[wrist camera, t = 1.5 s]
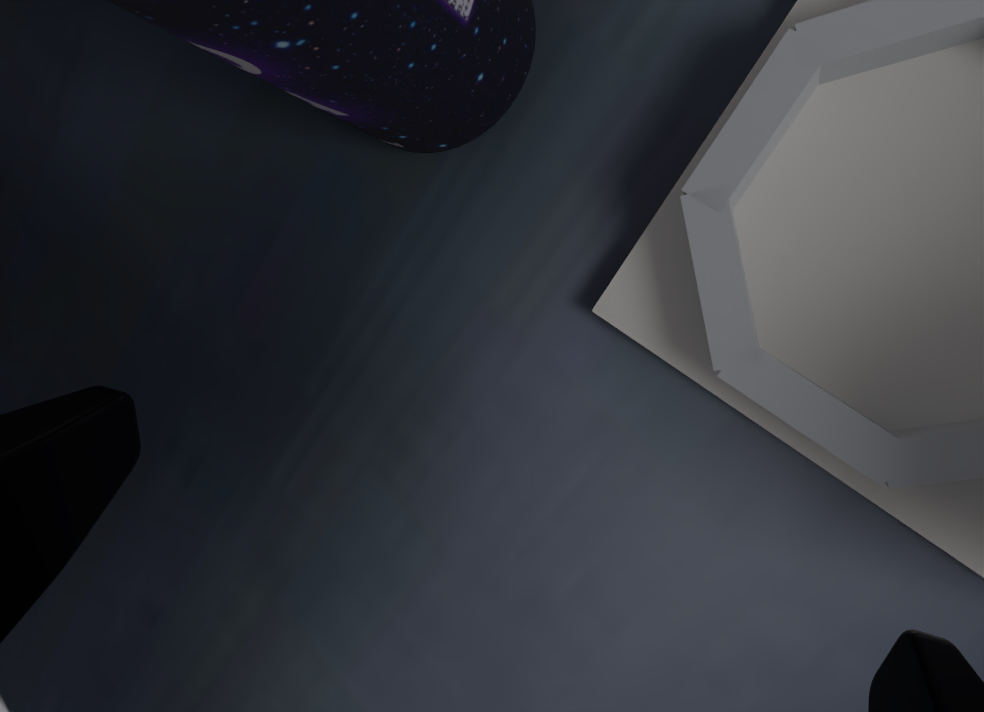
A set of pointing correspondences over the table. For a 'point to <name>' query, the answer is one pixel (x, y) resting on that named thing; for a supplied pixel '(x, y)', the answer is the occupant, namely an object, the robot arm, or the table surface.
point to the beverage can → (372, 58)
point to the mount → (840, 257)
